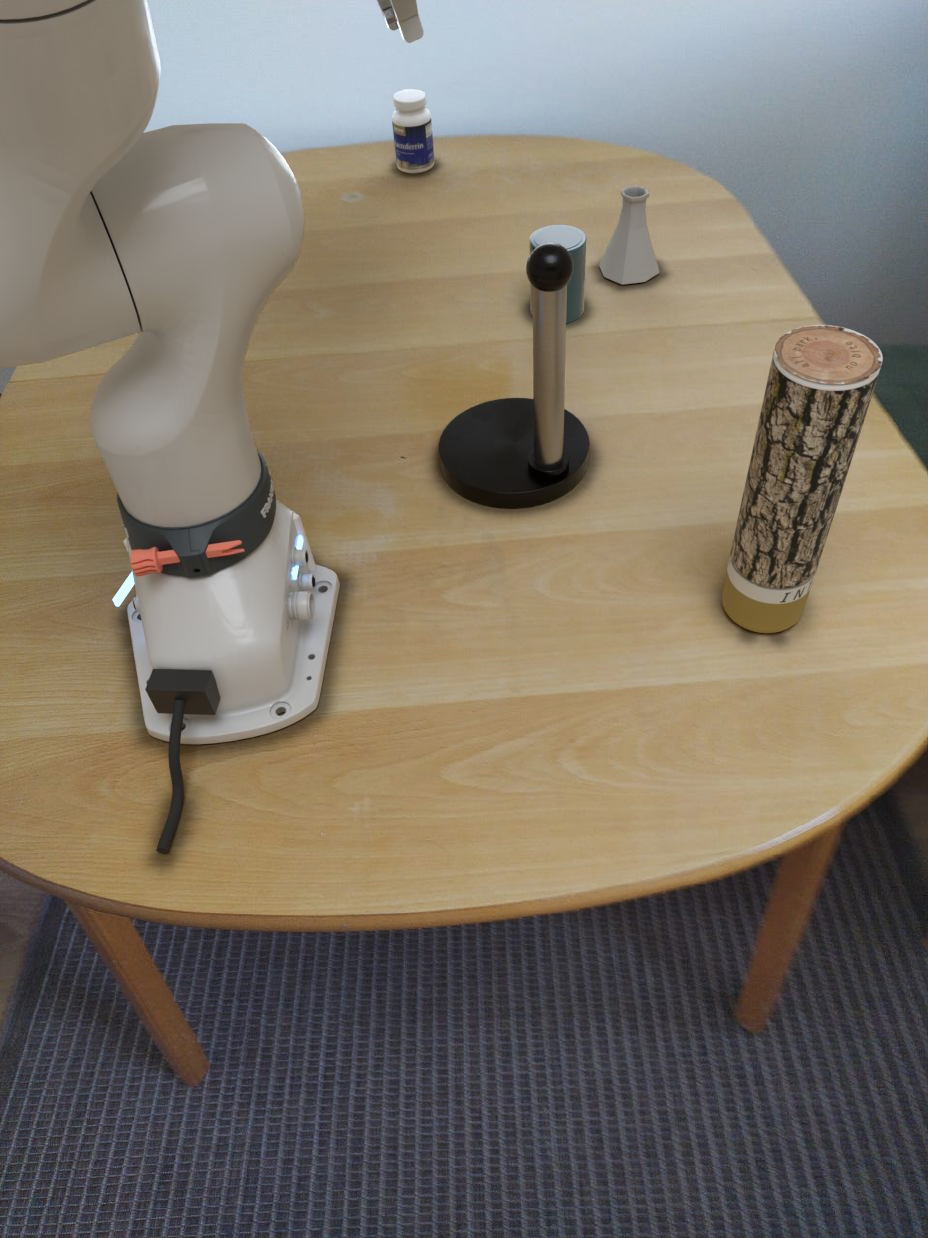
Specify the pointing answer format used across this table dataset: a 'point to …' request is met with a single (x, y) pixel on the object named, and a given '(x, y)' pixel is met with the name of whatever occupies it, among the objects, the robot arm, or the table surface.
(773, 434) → the paper tube
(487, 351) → the table surface
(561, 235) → the cup
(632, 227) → the flask
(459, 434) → the towel holder
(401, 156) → the pill bottle
